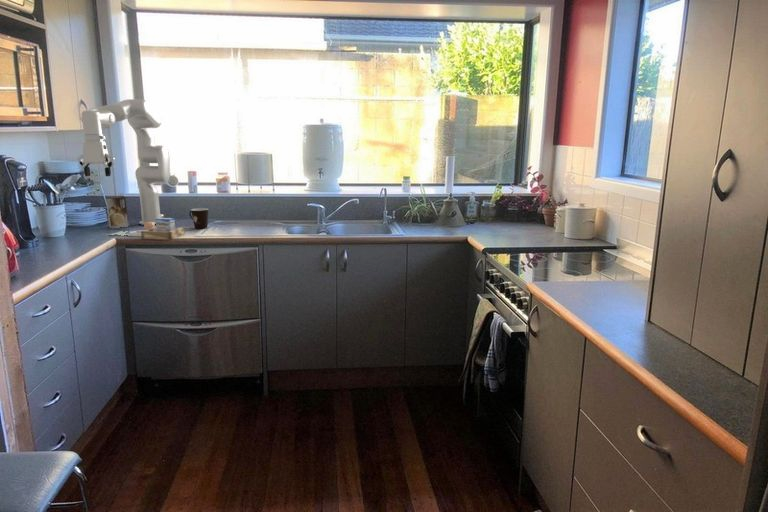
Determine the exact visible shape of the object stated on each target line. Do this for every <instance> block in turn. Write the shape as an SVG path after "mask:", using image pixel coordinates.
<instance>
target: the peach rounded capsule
mask: <svg viewBox="0 0 768 512" xmlns="http://www.w3.org/2000/svg"><path fill="white" fill-rule="evenodd" d="M143 227H144V229H143V230H147V229H150V228H153V227H156V225H155V222H144V225H143Z"/></svg>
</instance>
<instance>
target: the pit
mask: <svg viewBox="0 0 768 512" xmlns="http://www.w3.org/2000/svg"><path fill="white" fill-rule="evenodd" d="M142 231H143V230H140V229H139V230H134V231H130V233H129V235H128V237H129V236H141V232H142Z"/></svg>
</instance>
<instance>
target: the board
mask: <svg viewBox="0 0 768 512" xmlns="http://www.w3.org/2000/svg"><path fill="white" fill-rule="evenodd" d="M126 232H128V231H125V232H123V230H120V231H117V232H114V233H110V234H109V235H114V234H118V235H121V236H120V237H125V236H124V235H126V234H125V233H126ZM127 235H128V236H129V234H127Z"/></svg>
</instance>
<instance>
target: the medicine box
mask: <svg viewBox="0 0 768 512" xmlns="http://www.w3.org/2000/svg"><path fill="white" fill-rule="evenodd" d="M155 220H156V225H155V227H156V231H157V232H170V231H172V230H175V229H176V224H175V223H176V222H175V218H174V217H162V218H157V219H155Z"/></svg>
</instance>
